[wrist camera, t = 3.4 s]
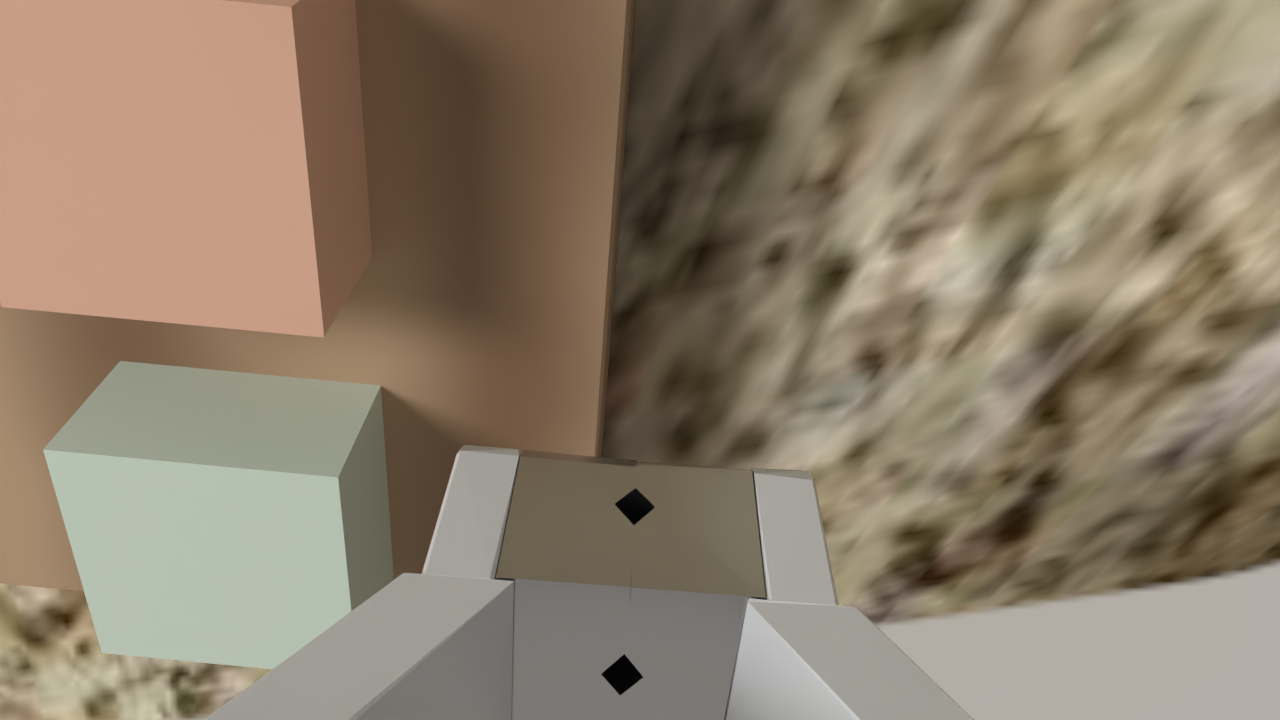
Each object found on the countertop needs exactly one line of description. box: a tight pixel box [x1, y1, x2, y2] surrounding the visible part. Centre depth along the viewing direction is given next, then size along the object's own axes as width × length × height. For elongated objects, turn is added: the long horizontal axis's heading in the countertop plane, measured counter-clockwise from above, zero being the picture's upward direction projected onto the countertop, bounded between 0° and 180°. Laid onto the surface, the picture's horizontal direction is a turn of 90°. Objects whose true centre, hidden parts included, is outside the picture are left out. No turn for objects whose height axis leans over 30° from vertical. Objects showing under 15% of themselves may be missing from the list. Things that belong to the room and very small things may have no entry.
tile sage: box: [43, 361, 394, 669], centre depth 18 cm, size 4×4×2 cm
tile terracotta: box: [0, 0, 372, 338], centre depth 14 cm, size 4×4×2 cm
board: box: [0, 0, 636, 591], centre depth 19 cm, size 16×14×4 cm
